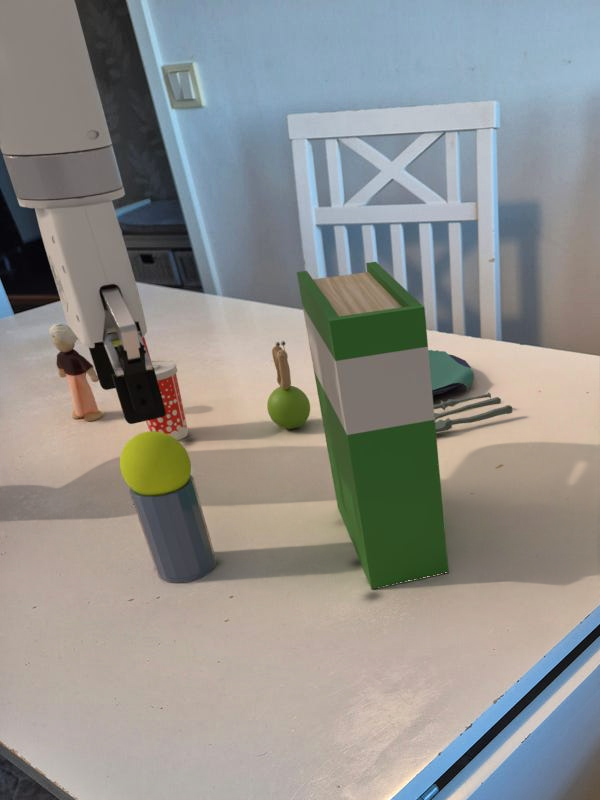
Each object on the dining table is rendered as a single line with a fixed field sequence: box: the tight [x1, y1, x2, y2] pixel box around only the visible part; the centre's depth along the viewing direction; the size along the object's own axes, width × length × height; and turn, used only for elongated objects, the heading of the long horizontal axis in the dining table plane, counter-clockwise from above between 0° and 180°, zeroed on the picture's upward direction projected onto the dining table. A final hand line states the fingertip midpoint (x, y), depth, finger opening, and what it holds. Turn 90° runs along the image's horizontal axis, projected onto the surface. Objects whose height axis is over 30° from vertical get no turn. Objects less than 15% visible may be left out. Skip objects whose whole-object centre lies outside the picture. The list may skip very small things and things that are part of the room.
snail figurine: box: [266, 340, 311, 430], centre depth 106 cm, size 5×6×12 cm
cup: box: [129, 474, 217, 584], centre depth 79 cm, size 6×6×9 cm
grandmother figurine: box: [48, 323, 104, 422], centre depth 114 cm, size 8×4×13 cm, turn 72°
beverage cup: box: [142, 336, 189, 441], centre depth 106 cm, size 6×6×14 cm
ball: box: [119, 431, 192, 496], centre depth 76 cm, size 6×6×6 cm
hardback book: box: [296, 261, 450, 590], centre depth 78 cm, size 18×7×24 cm, turn 18°
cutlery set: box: [428, 349, 513, 434], centre depth 116 cm, size 20×30×2 cm, turn 25°
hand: (132, 401), depth 72 cm, fingers open, 9 cm apart
